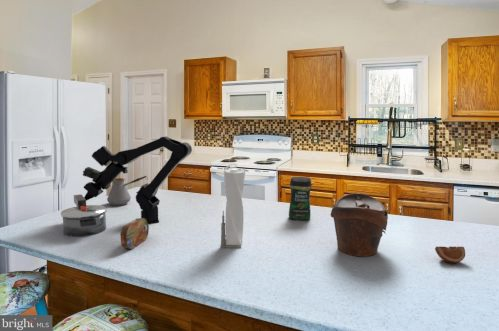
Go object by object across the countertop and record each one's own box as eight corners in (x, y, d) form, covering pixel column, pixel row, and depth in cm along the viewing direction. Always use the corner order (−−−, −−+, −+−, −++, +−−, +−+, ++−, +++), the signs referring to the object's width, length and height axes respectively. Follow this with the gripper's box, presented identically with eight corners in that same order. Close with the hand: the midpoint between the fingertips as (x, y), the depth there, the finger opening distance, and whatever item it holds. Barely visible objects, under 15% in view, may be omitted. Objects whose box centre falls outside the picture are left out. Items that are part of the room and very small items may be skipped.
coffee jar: (288, 220, 150) (289, 178, 148) (289, 215, 158) (289, 175, 155) (310, 221, 149) (312, 178, 146) (310, 216, 156) (311, 175, 154)
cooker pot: (111, 234, 130) (110, 216, 129) (66, 242, 122) (65, 222, 121) (99, 218, 152) (98, 202, 151) (60, 223, 144) (59, 207, 143)
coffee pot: (102, 206, 172) (101, 176, 170) (114, 201, 184) (113, 173, 182) (143, 207, 170) (142, 177, 168) (152, 202, 181) (151, 174, 179)
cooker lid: (110, 214, 132) (110, 204, 132) (63, 221, 123) (62, 210, 123) (98, 201, 153) (97, 192, 152) (56, 206, 144) (56, 197, 143)
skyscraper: (223, 239, 126) (222, 163, 122) (245, 239, 126) (245, 163, 122) (220, 247, 118) (220, 166, 114) (244, 248, 117) (244, 166, 114)
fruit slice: (439, 265, 104) (441, 249, 104) (429, 256, 111) (430, 241, 110) (468, 266, 104) (470, 250, 103) (456, 257, 110) (458, 242, 110)
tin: (127, 252, 113) (126, 227, 112) (119, 252, 114) (118, 227, 112) (149, 237, 128) (149, 215, 126) (142, 236, 128) (141, 214, 127)
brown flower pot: (356, 265, 103) (360, 207, 101) (318, 244, 122) (320, 194, 119) (400, 257, 111) (405, 202, 108) (358, 238, 129) (360, 190, 127)
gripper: (101, 158, 153) (76, 183, 153) (87, 163, 135) (59, 192, 135) (120, 175, 155) (96, 200, 155) (109, 182, 137) (82, 210, 137)
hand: (84, 200), depth 146 cm, fingers closed
